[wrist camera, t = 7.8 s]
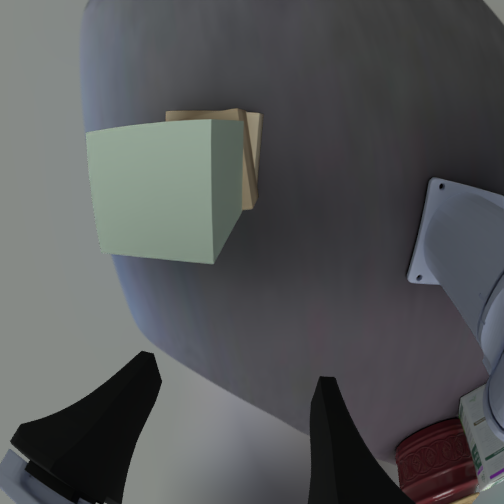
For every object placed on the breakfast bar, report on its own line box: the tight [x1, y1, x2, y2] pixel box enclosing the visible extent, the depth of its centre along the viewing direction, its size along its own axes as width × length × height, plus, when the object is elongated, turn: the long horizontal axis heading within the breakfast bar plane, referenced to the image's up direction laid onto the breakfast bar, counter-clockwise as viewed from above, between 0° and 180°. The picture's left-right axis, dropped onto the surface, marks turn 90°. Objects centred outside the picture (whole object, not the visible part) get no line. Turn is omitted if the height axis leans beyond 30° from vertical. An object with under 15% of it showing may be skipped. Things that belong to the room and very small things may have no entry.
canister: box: [395, 419, 480, 504], centre depth 22 cm, size 13×13×18 cm
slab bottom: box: [166, 111, 263, 182], centre depth 17 cm, size 6×6×2 cm
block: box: [86, 119, 244, 264], centre depth 11 cm, size 4×4×6 cm
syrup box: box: [459, 384, 504, 492], centre depth 18 cm, size 6×6×14 cm
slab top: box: [177, 108, 259, 210], centre depth 14 cm, size 5×5×2 cm
